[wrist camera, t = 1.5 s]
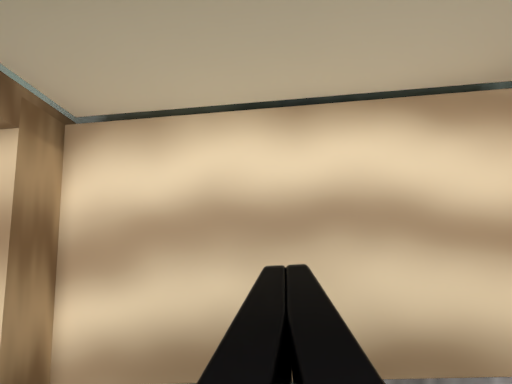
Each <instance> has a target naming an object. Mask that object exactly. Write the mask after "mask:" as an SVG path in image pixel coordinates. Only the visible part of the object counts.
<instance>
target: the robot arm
mask: <svg viewBox="0 0 512 384" xmlns="http://www.w3.org/2000/svg"><path fill="white" fill-rule="evenodd" d="M292 377H293V384H385V383H384V381H383V380H382V378H381V376H380V375H379V373H378V372H377V370H376V369H375V367H374V366H373V364H372V363H371V361H370V360H369V358H368V357H367V355H366V354H365V352H364V351H363V349H362V347H361V346H360V344H359V343H358V341H357V340H356V338H355V337H354V335H353V334H352V332H351V331H350V329H349V328H348V326H347V325H346V323H345V321H344V320H343V318H342V317H341V315H340V314H339V312H338V311H337V309H336V308H335V306H334V305H333V303H332V302H331V300H330V299H329V297H328V296H327V294H326V292H325V291H324V289H323V288H322V286H321V285H320V283H319V282H318V280H317V279H316V277H315V276H314V274H313V273H312V271H311V270H310V268H309V267H308V266H307V265H306V264H292V265H287V266H286V268H285V266H284V265H271V266H265V267H264V268H263V269H262V271H261V273H260V274H259V276H258V278H257V280H256V281H255V283H254V285H253V287H252V288H251V290H250V292H249V293H248V295H247V297H246V299H245V300H244V302H243V304H242V305H241V307H240V309H239V311H238V312H237V314H236V316H235V318H234V319H233V321H232V323H231V324H230V326H229V328H228V330H227V331H226V333H225V335H224V337H223V338H222V340H221V342H220V343H219V345H218V347H217V349H216V350H215V352H214V354H213V356H212V357H211V359H210V361H209V362H208V364H207V366H206V368H205V369H204V371H203V373H202V374H201V376H200V378H199V380H198V381H197V383H196V384H292Z"/></svg>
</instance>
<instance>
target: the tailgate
mask: <svg viewBox="0 0 512 384" xmlns="http://www.w3.org/2000/svg"><path fill="white" fill-rule="evenodd" d="M0 63H1V64H2V65H4V66H5V67H6V68H8V69H9V70H11V71H12V72H13V73H15V74H16V75H18V76H19V77H20V78H22V79H23V80H25V81H26V82H27V83H29V84H30V85H32V86H33V87H34V88H36V89H37V90H38V91H40V92H41V93H43V94H44V95H45V96H47V97H48V98H50V99H51V100H52V101H54V102H55V103H57V104H58V105H59V106H61V107H62V108H64V109H65V110H66V111H68V112H69V113H70V114H72V115H73V116H75V117H85V116H97V115H109V114H121V113H133V112H145V111H157V110H169V109H181V108H193V107H205V106H217V105H229V104H241V103H253V102H265V101H277V100H289V99H301V98H313V97H325V96H337V95H349V94H361V93H373V92H385V91H397V90H409V89H420V88H432V87H444V86H456V85H468V84H480V83H492V82H504V81H512V0H0Z"/></svg>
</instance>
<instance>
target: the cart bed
mask: <svg viewBox="0 0 512 384" xmlns="http://www.w3.org/2000/svg"><path fill="white" fill-rule="evenodd" d="M292 264H306V265H307V266H308V267H309V268H310V270H311V271H312V273H313V274H314V276H315V277H316V279H317V280H318V282H319V283H320V285H321V286H322V288H323V289H324V291H325V292H326V294H327V296H328V297H329V299H330V300H331V302H332V303H333V305H334V306H335V308H336V309H337V311H338V312H339V314H340V315H341V317H342V318H343V320H344V321H345V323H346V325H347V326H348V328H349V329H350V331H351V332H352V334H353V335H354V337H355V338H356V340H357V341H358V343H359V344H360V346H361V347H362V349H363V351H364V352H365V354H366V355H367V357H368V358H369V360H370V361H371V363H372V364H373V366H374V367H375V369H376V370H377V372H378V373H379V375H380V376H381V378H382V379H421V378H470V377H512V88H510V89H498V90H485V91H473V92H461V93H449V94H437V95H424V96H412V97H400V98H388V99H376V100H363V101H351V102H339V103H327V104H315V105H302V106H290V107H278V108H266V109H253V110H241V111H229V112H217V113H205V114H192V115H180V116H168V117H156V118H144V119H131V120H119V121H107V122H95V123H83V124H76V123H75V122H73V121H72V120H71V119H69V118H68V117H66V116H65V115H63V114H62V113H60V112H59V111H57V110H56V109H55V108H53V107H52V106H50V105H49V104H47V103H46V102H44V101H43V100H42V99H40V98H39V97H37V96H36V95H34V94H33V93H31V92H30V91H29V90H27V89H26V88H24V87H23V86H21V85H20V84H18V83H17V82H16V81H14V80H13V79H11V78H10V77H8V76H7V75H5V74H4V73H3V72H1V71H0V384H179V383H197V381H198V380H199V378H200V376H201V374H202V373H203V371H204V369H205V368H206V366H207V364H208V362H209V361H210V359H211V357H212V356H213V354H214V352H215V350H216V349H217V347H218V345H219V343H220V342H221V340H222V338H223V337H224V335H225V333H226V331H227V330H228V328H229V326H230V324H231V323H232V321H233V319H234V318H235V316H236V314H237V312H238V311H239V309H240V307H241V305H242V304H243V302H244V300H245V299H246V297H247V295H248V293H249V292H250V290H251V288H252V287H253V285H254V283H255V281H256V280H257V278H258V276H259V274H260V273H261V271H262V269H263V268H264V267H265V266H271V265H284V266H285V268H286V266H287V265H292ZM292 381H293V377H292Z"/></svg>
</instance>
